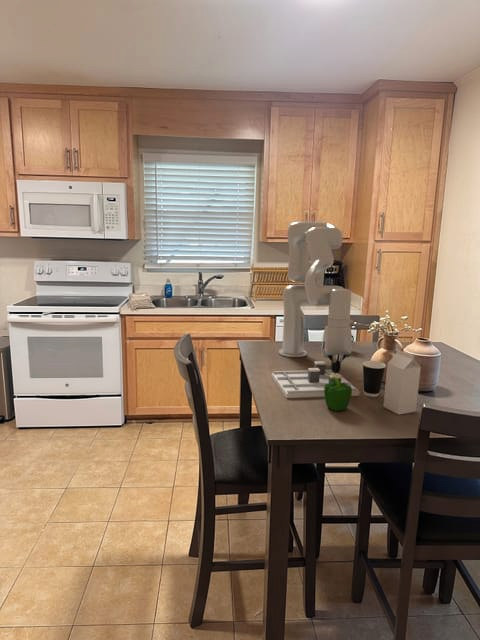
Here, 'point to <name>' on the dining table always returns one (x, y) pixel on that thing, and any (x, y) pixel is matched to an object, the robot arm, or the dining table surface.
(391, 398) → the milk carton
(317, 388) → the board
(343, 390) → the bell pepper
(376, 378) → the dixie cup
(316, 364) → the block
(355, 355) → the dining table surface
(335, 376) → the breaker right
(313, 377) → the block
